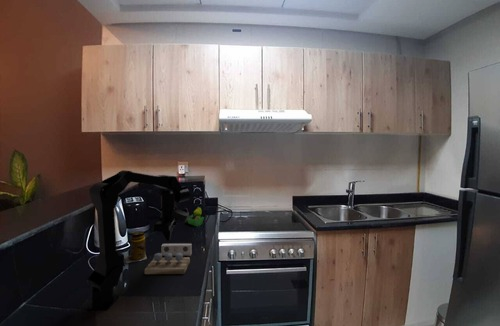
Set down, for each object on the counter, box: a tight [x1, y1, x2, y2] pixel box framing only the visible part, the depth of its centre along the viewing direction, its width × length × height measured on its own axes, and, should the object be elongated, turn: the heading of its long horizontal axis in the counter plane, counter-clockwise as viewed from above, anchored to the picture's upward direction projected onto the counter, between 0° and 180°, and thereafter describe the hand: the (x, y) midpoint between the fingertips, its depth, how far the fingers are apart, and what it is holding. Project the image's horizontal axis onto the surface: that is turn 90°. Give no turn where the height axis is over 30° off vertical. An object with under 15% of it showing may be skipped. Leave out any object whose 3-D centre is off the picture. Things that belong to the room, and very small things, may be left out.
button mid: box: [164, 253, 173, 264], centre depth 94 cm, size 3×3×4 cm
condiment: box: [124, 230, 148, 264], centre depth 102 cm, size 7×8×12 cm
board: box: [144, 256, 191, 275], centre depth 94 cm, size 10×16×2 cm, turn 93°
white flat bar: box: [160, 243, 193, 257], centre depth 106 cm, size 2×14×5 cm, turn 92°
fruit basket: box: [187, 206, 205, 227], centre depth 152 cm, size 11×9×11 cm
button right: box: [175, 253, 184, 264], centre depth 94 cm, size 3×3×4 cm
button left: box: [153, 252, 163, 264], centre depth 94 cm, size 3×3×4 cm
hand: (168, 240), depth 93 cm, fingers closed
